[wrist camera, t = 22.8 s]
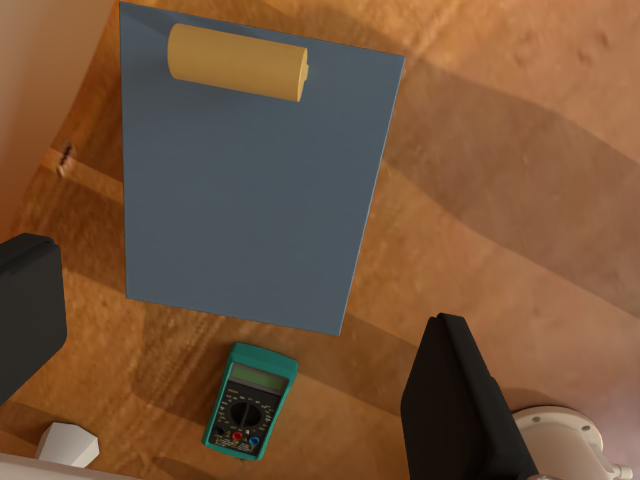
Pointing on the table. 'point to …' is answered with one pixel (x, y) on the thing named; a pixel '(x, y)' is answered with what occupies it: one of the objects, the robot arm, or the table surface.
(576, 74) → the table surface
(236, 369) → the digital multimeter
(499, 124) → the table surface
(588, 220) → the table surface
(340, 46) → the case lid
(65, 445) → the flask
